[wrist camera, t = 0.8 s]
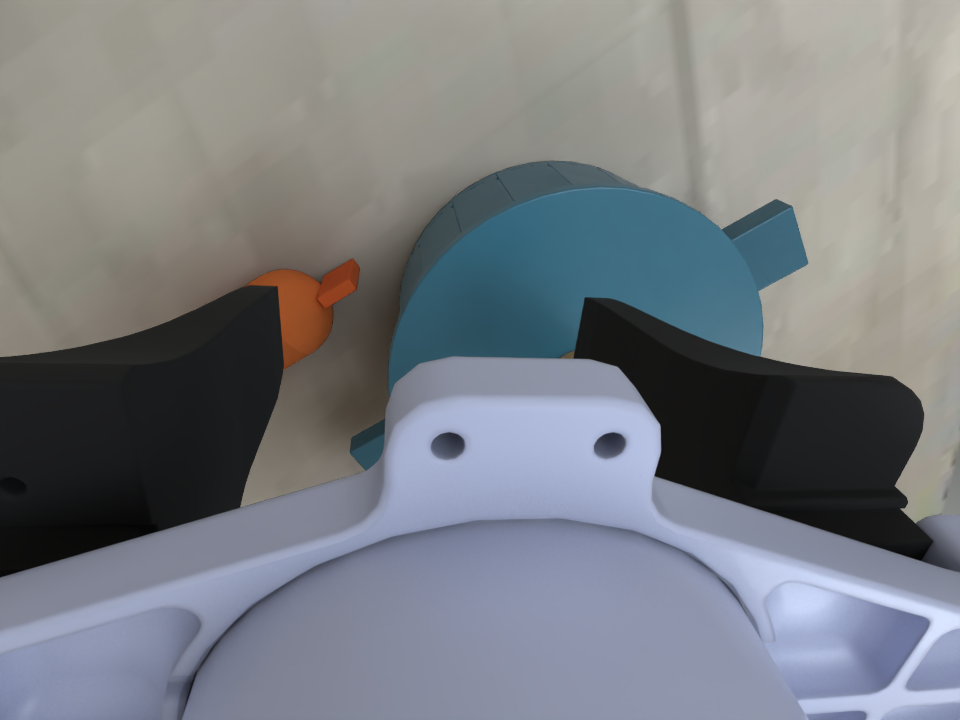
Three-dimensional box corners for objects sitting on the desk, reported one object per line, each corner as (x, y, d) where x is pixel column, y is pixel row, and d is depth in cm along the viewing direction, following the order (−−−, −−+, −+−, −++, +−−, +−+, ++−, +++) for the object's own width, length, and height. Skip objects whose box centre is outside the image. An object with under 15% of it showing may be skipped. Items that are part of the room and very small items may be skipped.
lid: (786, 402, 23) (869, 482, 19) (501, 546, 25) (520, 646, 21) (676, 92, 17) (764, 111, 13) (308, 315, 19) (284, 393, 15)
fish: (331, 221, 23) (320, 253, 19) (382, 291, 24) (380, 331, 21) (167, 325, 24) (131, 371, 21) (226, 385, 25) (202, 436, 22)
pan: (770, 314, 27) (850, 375, 22) (442, 488, 30) (451, 576, 25) (682, 54, 21) (765, 61, 16) (284, 300, 24) (256, 368, 19)
